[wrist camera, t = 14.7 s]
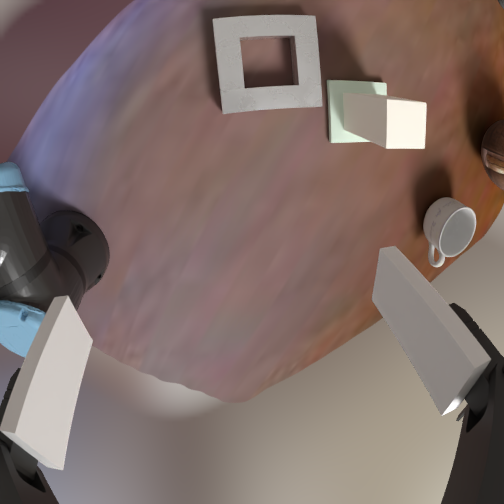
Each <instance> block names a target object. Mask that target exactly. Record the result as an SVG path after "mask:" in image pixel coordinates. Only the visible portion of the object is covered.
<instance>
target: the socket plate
mask: <svg viewBox="0 0 504 504" xmlns="http://www.w3.org/2000/svg"><path fill="white" fill-rule="evenodd" d="M213 32H214V41H215V51H216V60H217V69H218V78H219V87H220V96H221V105H222V113H223V114H226V113H235V112H244V111H254V110H266V109H279V108H297V107H322V90H321V74H320V60H319V48H318V37H317V27H316V17H315V16H308V15H255V16H238V17H226V18H216V19H213ZM281 38H290V49H291V60H292V72H293V85H285V86H267V87H253V88H245V86H244V76H243V66H242V57H241V47H240V40H254V39H281Z"/></svg>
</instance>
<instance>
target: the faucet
mask: <svg viewBox="0 0 504 504" xmlns="http://www.w3.org/2000/svg"><path fill="white" fill-rule="evenodd" d="M498 2H499V3H500V5H501V6H502V7H503V9H504V0H498Z"/></svg>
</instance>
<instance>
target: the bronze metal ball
mask: <svg viewBox="0 0 504 504" xmlns="http://www.w3.org/2000/svg"><path fill="white" fill-rule="evenodd" d="M481 156H482V162H483V165H484V168H485V170H486V172H487V174H488V176H489V177H490V179H491V180H492V181H493V182H494V183H495V184H496V185H497V186H498V187H499V188H501V189H503V190H504V120H500V121H497V122H495V123H494V124H493V125H491V126H490V127H489V129H488V130H487V131H486V133H485V135H484V137H483V140H482V146H481Z"/></svg>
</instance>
